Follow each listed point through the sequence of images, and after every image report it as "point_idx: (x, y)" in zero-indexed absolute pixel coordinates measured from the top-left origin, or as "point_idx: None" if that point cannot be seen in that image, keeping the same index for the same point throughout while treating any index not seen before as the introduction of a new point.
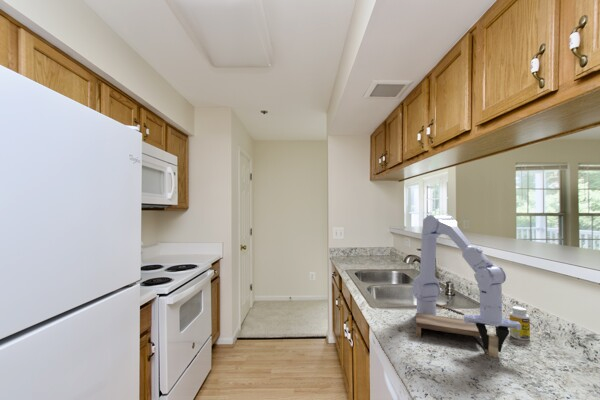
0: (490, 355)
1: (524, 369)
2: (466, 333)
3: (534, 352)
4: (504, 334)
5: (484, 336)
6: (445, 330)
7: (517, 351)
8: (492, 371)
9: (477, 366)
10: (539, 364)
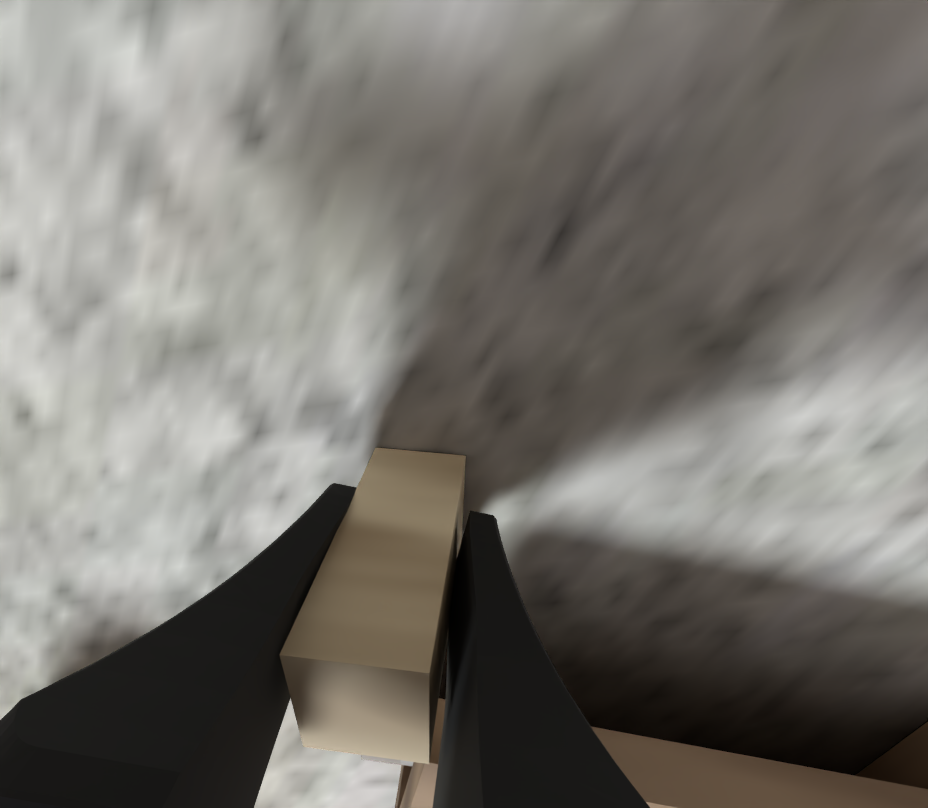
0: (450, 458)
1: (177, 226)
2: (600, 739)
3: (31, 562)
4: (124, 697)
5: (512, 665)
6: (823, 778)
7: (162, 563)
8: (633, 61)
9: (773, 180)
10: (10, 372)
